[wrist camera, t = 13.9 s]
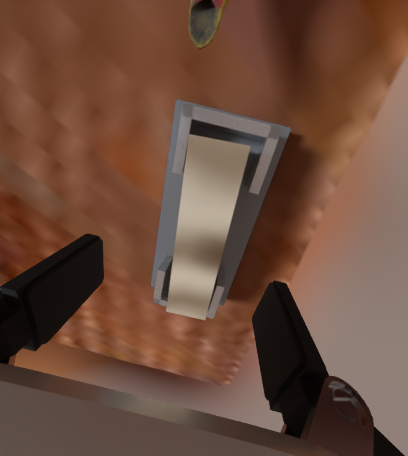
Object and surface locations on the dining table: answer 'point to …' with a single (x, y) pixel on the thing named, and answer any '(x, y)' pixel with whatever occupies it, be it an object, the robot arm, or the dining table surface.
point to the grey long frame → (262, 159)
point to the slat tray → (244, 206)
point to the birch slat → (204, 221)
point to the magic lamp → (205, 20)
